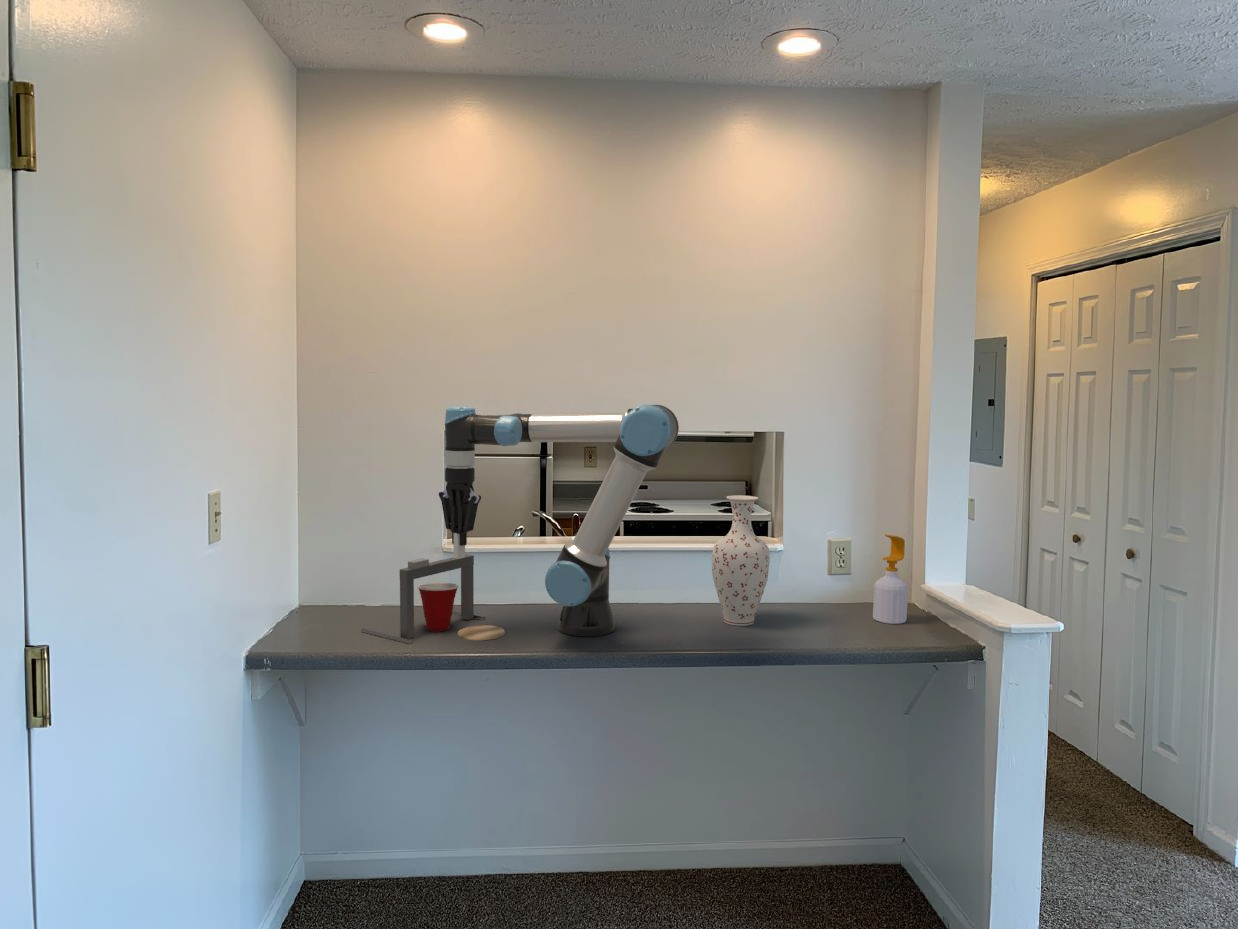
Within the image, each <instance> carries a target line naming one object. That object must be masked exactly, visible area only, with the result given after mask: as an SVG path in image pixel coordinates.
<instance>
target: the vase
mask: <svg viewBox="0 0 1238 929" xmlns="http://www.w3.org/2000/svg"><path fill="white" fill-rule="evenodd" d="M726 499H727V500H728V501H729V502H730V506H731V510H732V519H731V520H732V522H731V523H732V524H731V526H730V530H729V531H728V533H727V534H726V535H724V536H723V537H721V538H720V539H718V540H717V541H716V542H715V544H714V546H713V547H712V553H711V569H712V570H711V572H712V580H713V584H714V587H715V590H716V594H717V597H718V601H719V605H720V607H721V608H720V609H721V612H722V616H723V622H724V623H726V624H728V625H731V626H738V627H740V626H741V627H742V626H751V625H754V624H755V618H756V614H757V612H758V608H759V606H760V603H761V600H762V597H763V594H764V592H765V588H766V586H767V582H768V579H769V571H770V561H771V560H770V559H771V556H770V549H769V546H768V545H767V543H766V542H765V541H763V540H762V539H761V538H759V537H758V536H757V535H756V534H755V532H754V529H753V525H752V512H753V507H754V504H755V502H756V501H758V500H759V497H758V496H753V495H740V494H739V495H734V494H733V495H727V496H726Z"/></svg>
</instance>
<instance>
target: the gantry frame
mask: <svg viewBox="0 0 1238 929" xmlns="http://www.w3.org/2000/svg"><path fill="white" fill-rule="evenodd" d="M474 557H475V555H472V554H466V553H465V557H463V558H459V559H456V558H453V557H449V558H445V559H441V560H436V561H431V562H430V559H429V558H428V559H427V558H419V559H413V560H409V561H407V567H405V568H404V567H403V568H400V569H399V604H400V605H399V614H400V615H399V617H400V619H399V621H400V622H399V625H400V626H399V628H400V630H399V631H400V632H399V633H400V634H399V636H403V637H407V638H411V639H413V638H414V637H415V604H414V603H415V597H414V596H415V591H414V590H415V589H414V587H415V585H414V584H415V583H414V582H415V580H416V579H420V578H425V577H429V576H433V575H437V574H441V573H446V572H451V571H455V570H458V569H460V611H461V616H460V619H461V620H464V621H469V620H472V619H474V614H475V613H474V606H475V605H474V604H475V603H474V600H475V599H474V597H475V596H474V593H475V592H474V591H475V590H474V565H475V561H474V560H475V558H474Z"/></svg>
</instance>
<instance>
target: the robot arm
mask: <svg viewBox="0 0 1238 929" xmlns="http://www.w3.org/2000/svg"><path fill="white" fill-rule="evenodd" d="M444 418H445V419H444V442H445V445H444V446H445V448H444V465H445V466H446V467H445V468H444V481H445V483H446V485H445V490H443V491H439V492H438V496H439V499H440V501H441V508H442V514H443V518H444V525H445V529H446V530H449V531H450V532H451V543H452V545H453V557H452V558H456V559H459V558H463V557H465V555H466V546H467V544H468V542H467V540H468V533H469V532H472V531H474V526H475V523H476V516H477V513H478V508H479V507H478V506H479V503H480V502H481V499H482V496H481V495H480V494H477V493H475V488H474V486H473V485H474V484H473V483H474V482H475V474H476V473H475V470H476V469H475V468H474V467H473V466H475V463H476V462H475V461H476V460H475V456H476V455H475V454H476V452H475V451H476V448H475V447H476V445H484V446H485V445H486V446H487V445H488V446H502V447H509V446H511V447H513V446H517V445H519V443H614V445H613V447H612V448H613V450H614V453H615V457H614V459H613V460H612V462H611V465H610V466H609V469H608V471H607V473H606V474H605V477H604V478H603V481H602V483H601V485H600V486H599V489H598V491H596V492H597V493H596V495H595V497H594V498H593V500H592V503H591V504H590V507H589V508H588V511H587V513H586V514H585V517H584V519H583V521H582V523H581V524H580V527H579V529H578V530H577V533H575V536H574V538H573V539H572V540H568V541H566V542H565V543H564V545H563V547H562V549H561V551H560V552H559V555H558V557H557V559H556V561H555V562H554V563H553V564H552V565H550V567H549V568H548V570H547V571H546V573H545V577H544V585H545V590H546V591H547V594H548V596H549V597H550V598H551V599H552V600H553V601H554V602H555V603H557V604H559V605H561V606H562V609H561V613H560V616H559V619H558V631H560V632H561V633H563V634H566V635H569V636H575V637H599V636H605V635H608V634H611V633H613V632H614V631H615V629H616V620H615V617H614V614H613V611H612V610H613V609H612V607H611V606H612V605H611V603H610V597H609V596H610V595H609V594H610V559H611V556H610V548H609V547H610V545H611V543H612V542H613V539H614V538H615V535H616V533H617V531H618V530H619V528H620V526H621V524H622V522H623V520H624V518H625V516H626V513H628V511H629V508H630V506H631V504H632V502H633V500H634V498H635V496H636V494H637V492H638V491H639V488H640V486H641V484H642V483H643V481H644V478H645V476H646V475H647V473H648V472H649V471H652V470H656V468H657V467H658V465H659V463H660V461H661V459H662V457H663V455H664V453H665V452H666V449H668V448H669V447H670V446H672V445H673V443H675V441H676V439H677V437H678V435H679V428H680V425H679V421H678V417H677V416H676V415H675V413H674V412H673V411H672V410H671V409H670V408H668V407H667V406H664V405H661V404H643V405H638V406H636V407H633V408H627V409H626V410H625V411H624V412H589V413H588V412H587V413H586V412H583V413H582V412H578V413H577V412H575V413H573V412H572V413H571V412H570V413H565V412H564V413H519V412H518V413H511V414H499V415H498V414H496V415H488V414H487V415H484V414H482V415H480V414H476V408H475V407H473V406H449V407H447V408H446V409H445V416H444Z"/></svg>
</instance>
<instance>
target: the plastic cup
mask: <svg viewBox="0 0 1238 929" xmlns="http://www.w3.org/2000/svg"><path fill="white" fill-rule="evenodd" d="M458 588H459V584H457V583H452V582H451V583H450V582H428V583H422V584H419V585H417V589H418V591H419V594H420V598H421V603H422V610H423V615H424V616H423V617H424V618H425V619H424V621H425V624H426V628H427V631H430V632H438V633H439V632H446V631H448V630H449V629H450V626H451V619H452V616H453V614H452V611H453V609H454V603H455V598H456V594H457V590H458Z"/></svg>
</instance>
